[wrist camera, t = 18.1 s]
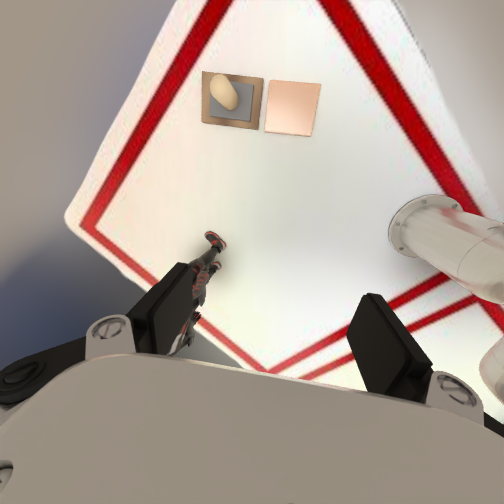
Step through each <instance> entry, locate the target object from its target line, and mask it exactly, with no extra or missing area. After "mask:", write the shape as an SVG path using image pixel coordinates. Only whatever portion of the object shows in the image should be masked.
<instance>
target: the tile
mask: <svg viewBox="0 0 504 504" xmlns="http://www.w3.org/2000/svg"><path fill="white" fill-rule="evenodd" d="M320 87H321V84H314V83H302V82H291V81H279V80H270V83H269V93H268V103H267V112H266V122H265V132H269V133H279V134H289V135H299V136H311V134H312V129H313V123H314V118H315V113H316V108H317V103H318V97H319V92H320Z"/></svg>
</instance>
